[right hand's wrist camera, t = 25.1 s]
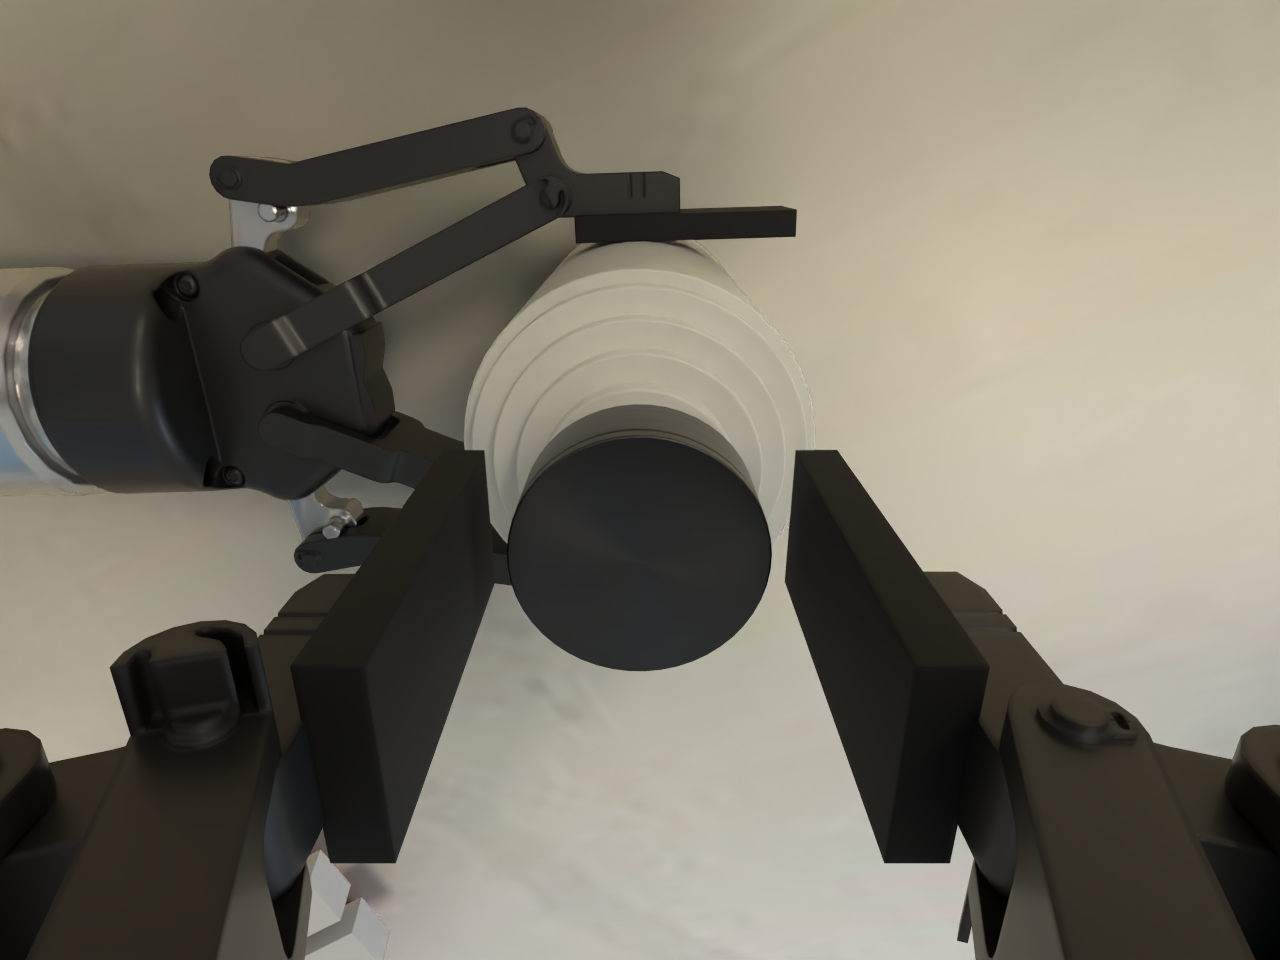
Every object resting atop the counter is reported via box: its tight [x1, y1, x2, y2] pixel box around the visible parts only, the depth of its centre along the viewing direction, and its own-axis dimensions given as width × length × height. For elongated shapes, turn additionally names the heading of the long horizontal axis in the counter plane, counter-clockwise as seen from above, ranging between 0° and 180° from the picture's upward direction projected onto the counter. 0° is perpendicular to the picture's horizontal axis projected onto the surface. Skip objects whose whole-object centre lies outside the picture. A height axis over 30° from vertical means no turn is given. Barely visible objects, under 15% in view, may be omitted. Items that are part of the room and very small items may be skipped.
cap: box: [507, 404, 772, 671], centre depth 14 cm, size 4×4×2 cm
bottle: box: [464, 240, 815, 544], centre depth 22 cm, size 8×8×20 cm
